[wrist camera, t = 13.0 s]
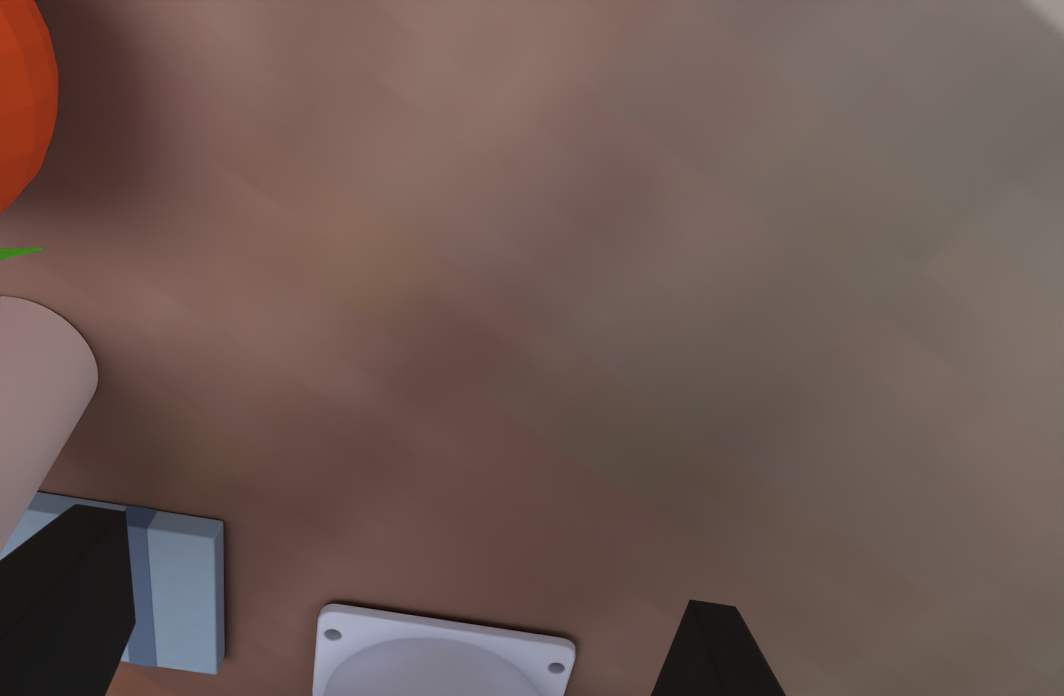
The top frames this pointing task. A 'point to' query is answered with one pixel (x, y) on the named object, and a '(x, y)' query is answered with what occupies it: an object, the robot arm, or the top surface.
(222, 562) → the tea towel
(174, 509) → the top surface
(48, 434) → the smoothie
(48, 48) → the clementine
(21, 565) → the robot arm
